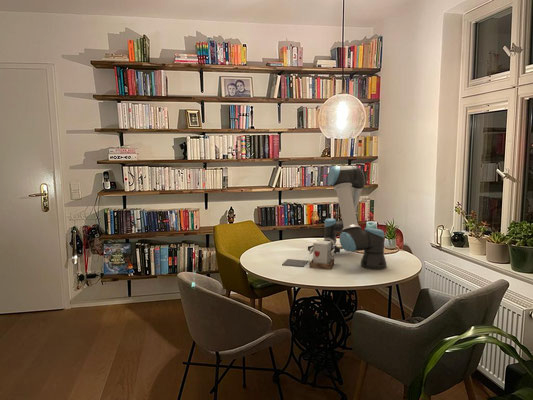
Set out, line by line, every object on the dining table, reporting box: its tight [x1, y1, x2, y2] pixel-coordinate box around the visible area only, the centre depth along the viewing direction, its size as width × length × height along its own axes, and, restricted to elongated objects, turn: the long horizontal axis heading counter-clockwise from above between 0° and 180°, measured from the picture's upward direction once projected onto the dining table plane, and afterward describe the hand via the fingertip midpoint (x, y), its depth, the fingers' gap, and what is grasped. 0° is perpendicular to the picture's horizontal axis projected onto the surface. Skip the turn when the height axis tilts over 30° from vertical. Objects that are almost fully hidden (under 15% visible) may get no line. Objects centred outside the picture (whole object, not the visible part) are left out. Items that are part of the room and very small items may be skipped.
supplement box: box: [312, 239, 332, 264], centre depth 231 cm, size 9×9×15 cm
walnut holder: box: [309, 258, 335, 270], centre depth 231 cm, size 13×13×3 cm
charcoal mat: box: [281, 258, 310, 268], centre depth 237 cm, size 14×13×1 cm
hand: (321, 252), depth 227 cm, fingers open, 13 cm apart
